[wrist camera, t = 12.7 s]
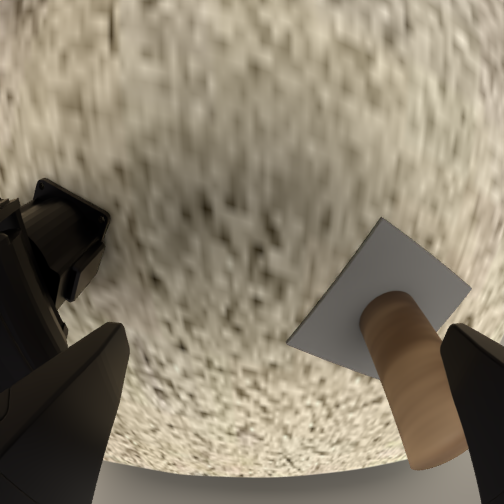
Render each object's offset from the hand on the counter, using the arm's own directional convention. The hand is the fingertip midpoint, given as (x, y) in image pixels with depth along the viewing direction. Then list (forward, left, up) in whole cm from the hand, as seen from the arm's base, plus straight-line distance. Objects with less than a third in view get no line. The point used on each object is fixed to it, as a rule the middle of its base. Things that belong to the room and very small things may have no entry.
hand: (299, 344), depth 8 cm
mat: (+13, -3, -13) cm, 19 cm away
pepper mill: (+13, -3, -13) cm, 18 cm away
